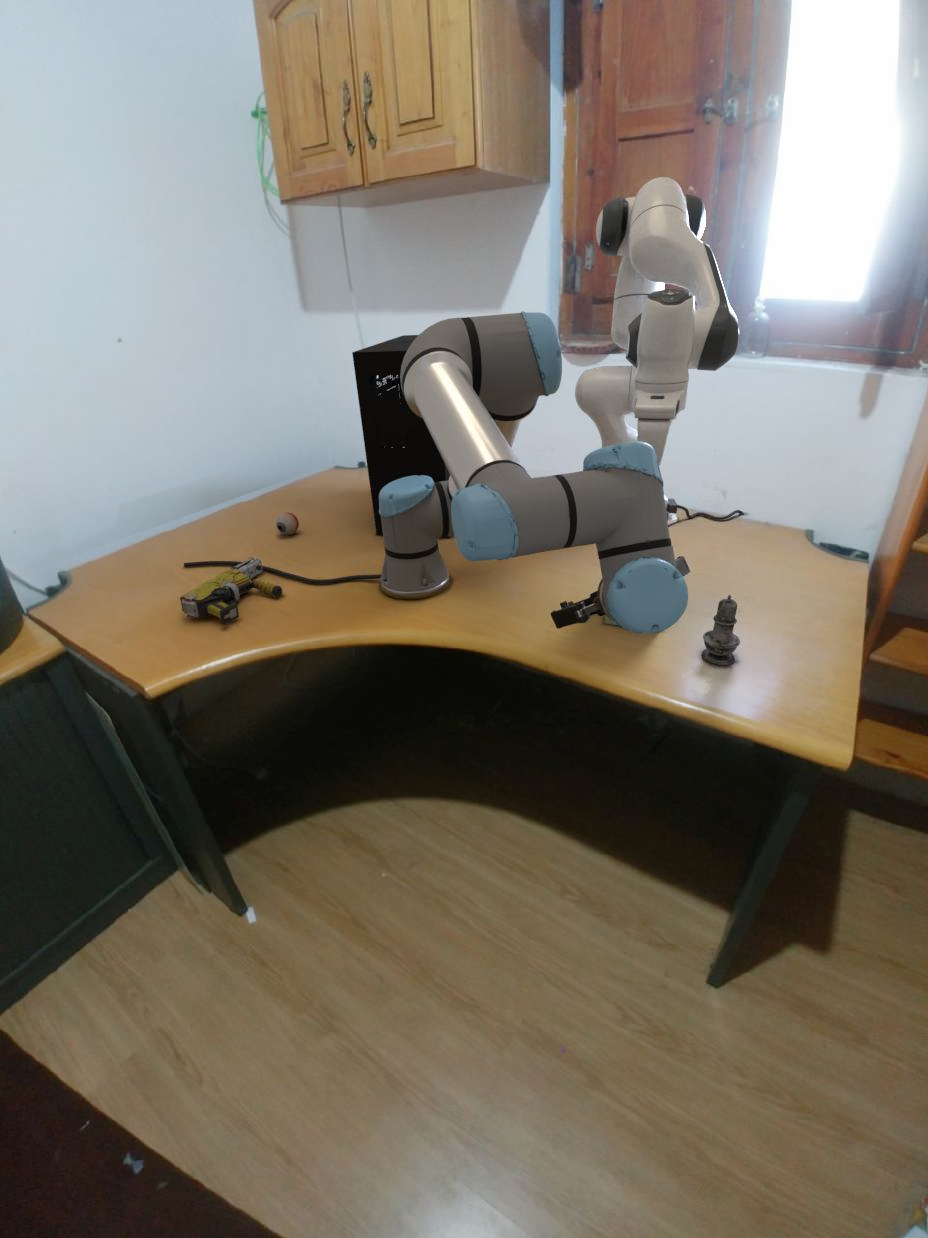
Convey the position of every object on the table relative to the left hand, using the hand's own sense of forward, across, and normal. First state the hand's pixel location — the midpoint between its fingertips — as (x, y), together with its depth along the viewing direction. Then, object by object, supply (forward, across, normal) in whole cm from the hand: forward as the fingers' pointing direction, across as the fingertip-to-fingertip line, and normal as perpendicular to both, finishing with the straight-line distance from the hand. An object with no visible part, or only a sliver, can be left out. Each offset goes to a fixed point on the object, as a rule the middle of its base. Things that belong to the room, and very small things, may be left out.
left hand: (613, 592), depth 94 cm
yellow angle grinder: (+28, -71, +29) cm, 81 cm away
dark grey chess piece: (+12, +13, -18) cm, 25 cm away
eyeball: (+61, -68, +46) cm, 102 cm away
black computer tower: (+76, -32, +38) cm, 91 cm away
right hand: (+19, +16, +16) cm, 29 cm away
